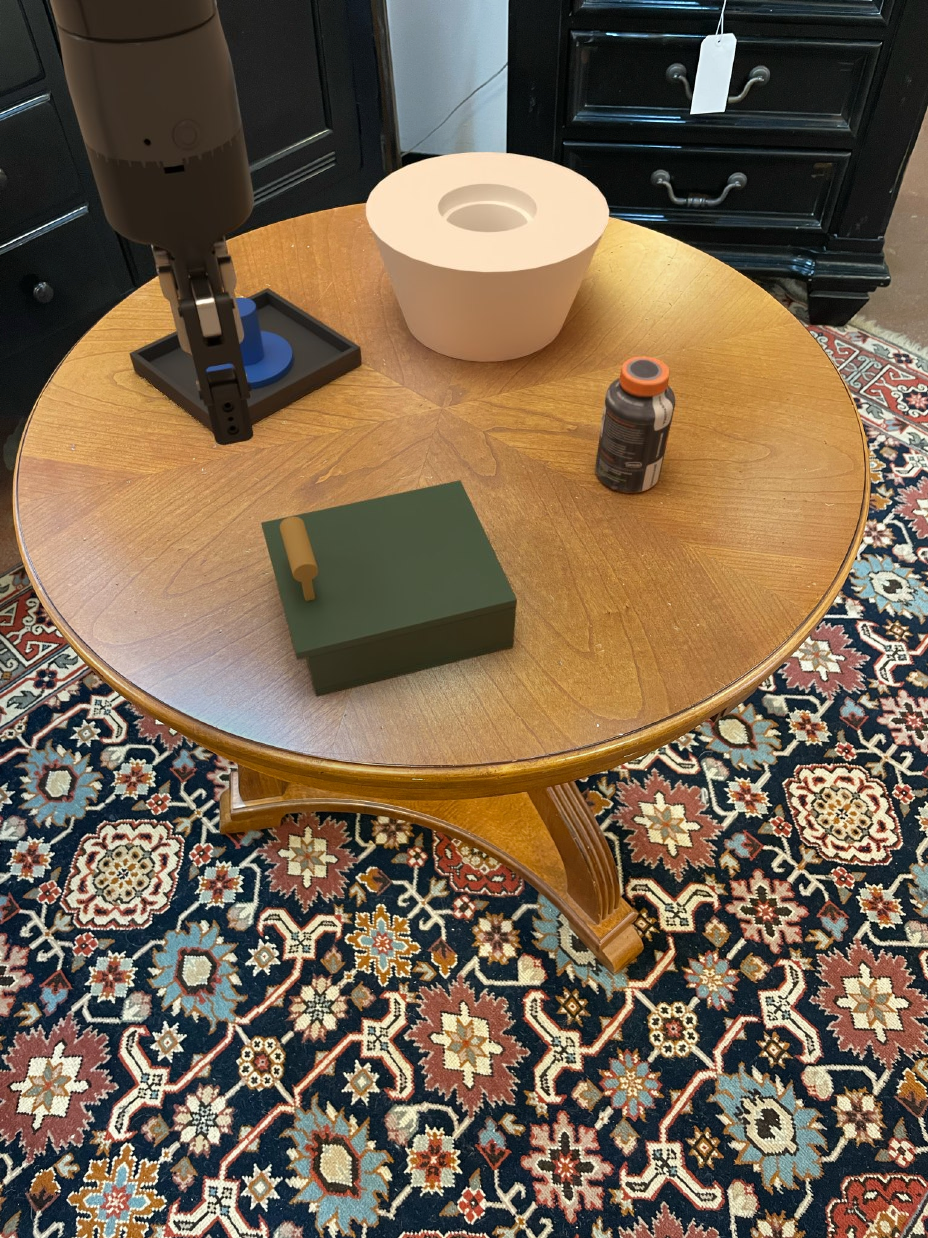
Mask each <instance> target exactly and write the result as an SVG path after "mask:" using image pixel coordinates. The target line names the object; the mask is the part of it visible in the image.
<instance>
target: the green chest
mask: <svg viewBox="0 0 928 1238" xmlns="http://www.w3.org/2000/svg"><path fill="white" fill-rule="evenodd" d="M516 613H517V606H516V607H512V608H508V609H504V610H500V611H496V612H491V613H487V614H483V615H479V616H475V617H471V618H467V619H463V620H459V621H455V622H450V623H446V624H442V625H438V626H434V627H430V628H426V629H422V630H418V631H414V632H409V633H405V634H401V635H397V636H393V637H389V638H385V639H381V640H377V641H373V642H368V643H364V644H360V645H356V646H352V647H348V648H344V649H340V650H336V651H332V652H328V653H323V654H319V655H315V656H311V657H307V658H304V659H305V662H306V666H307V669H308V673H309V677H310V680H311V684H312V688H313V692H314V695H315V697H319V696H323V695H328V694H331V693H336V692H340V691H343V690H348V689H352V688H355V687H359V686H363V685H367V684H371V683H374V682H379V681H383V680H388V679H391V678H394V677H395V678H396V677H399V676H403V675H407V674H410V673H411V674H412V673H415V672H419V671H422V670H427V669H431V668H436V667H439V666H443V665H446V664H451V663H454V662H460V661H463V660H467V659H471V658H474V657H479V656H483V655H486V654H491V653H495V652H499V651H502V650H507V649H510V648H513V647H514V640H515V627H516Z"/></svg>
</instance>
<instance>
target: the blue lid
mask: <svg viewBox="0 0 928 1238" xmlns="http://www.w3.org/2000/svg"><path fill="white" fill-rule="evenodd" d="M236 300H237V305H238V309H239V313H240V318H241V322H242V327H243V331H244V338H243V341H242V342H241V343H240V349H241V353H242V358H243V363H244V368H245V372H246V375H247V379H248V381H247V382H250V385H251V389H254V388H259V387H263V386H267V385H269V384H272V383H274V382H276V381H278V380H279V379H281V378H282V377H284V376H285V375H286V374H287V373H288V372H289V370H290V369H291V367H292V364H293V353H292V348H291V346H290V344H289V343H288V342H287V341H286V340H285V339H284V338H282V337H280V336H279V335H276V334H274V333H270V332H266V331H260V326H259V321H258V315H257V309H256V304H255V303H254V302H253V301H252V300H250V299H248V298H247V297H236ZM227 368H233V366H232V364H223V365H218V366H212V367H209V368H207V370H206V372H210V371H215V370H221V369H227ZM206 374H207V373H206Z"/></svg>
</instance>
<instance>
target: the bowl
mask: <svg viewBox="0 0 928 1238" xmlns="http://www.w3.org/2000/svg"><path fill="white" fill-rule="evenodd" d="M606 199H607V198H606V197H605V196H604V194H603V193H602V192H601V191H600V189H599V188H598V186H596V185H595V184H594V183H592V182H591V181H590V180H588V179H587V177H585V176H583V175H581V174H579V173H578V172H576V171H575V170H572V169H571V168H568V167H565V166H563V165H560V164H558V163H555V162H552V161H548V160H545V159H541V158H537V157H535V156H528V155H522V154H516V153H510V152H509V153H507V152H495V151H494V152H493V151H480V152H479V151H478V152H475V151H473V152H459V153H452V154H450V153H449V154H445V155H444V154H443V155H438V156H434V157H430V158H426V159H422V160H420V161H416V162H413V163H411V164H407V165H405V166H403V167H402V168H399V169H398V170H396V171H394V172H391V173H390V174H388V175H387V176H386V177H385V178H383V179H382V180H380V181H379V182H378V184H377V185H376V186H375V187H374V188H373V189H372V190H371V192H370V193H369V195H368V199H367V201H366V203H365V217H366V219H367V223H368V225H369V227H370V231H371V233H372V236H373V238H374V242H375V244H376V246H377V250H378V252H379V254H380V257H381V259H382V262H383V266H384V268H385V270H386V273H387V275H388V278H389V281H390V284H391V287H392V289H393V292H394V294H395V296H396V300H397V303H398V305H399V308H400V310H401V313H402V315H403V316H402V317H403V318H404V321H405V323H406V326H407V328H408V330H409V332H410V334H412V336H413V337H414V338H415V340H417V341H418V342H419V343H421V344H422V345H423V346H424V347H426V348H428V349H430V350H431V351H433V352H435V353H438V354H441V355H443V356H446V357H449V358H453V359H458V360H463V361H468V362H480V363H491V362H492V363H493V362H504V361H512V360H516V359H520V358H523V357H527V356H529V355H532V354H534V353H536V352H539V351H542V349H544V348H545V347H546V346H548V345H549V344H552V342H553V341H554V340H555V339H556V337H558V335H559V334H560V332H561V331H562V328H563V326H564V324H565V322H566V319H567V316H568V315H569V312H570V310H571V308H572V305H573V304H574V301H575V299H576V296H577V294H578V292H579V290H580V287H581V285H582V283H583V280H584V278H585V276H586V274H587V271H588V269H589V267H590V264H591V263H592V260H593V258H594V256H595V253H596V252H597V249H598V246H599V244H600V242H601V239H602V237H603V235H604V233H605V231H606V228H607V226H608V224H609V219H610V209H609V205H608V203H607V200H606Z"/></svg>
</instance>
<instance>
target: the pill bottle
mask: <svg viewBox="0 0 928 1238" xmlns="http://www.w3.org/2000/svg"><path fill="white" fill-rule="evenodd" d="M670 374H671V372H670V368H669V366H668V365H667V364H666V362H665V363H664V361H662V360H660V359H658V358H656V357H652V356H648V355H647V356H646V355H645V356H644V355H641V356H634V357H631V358H628V359H626V360H625V362H623V363H622V366H621V369H620V374H619V378H617V379H615V380H614V381H613V382H611V383H610V385H609V386H608V387H607V390H606V393H605V397H604V404H603V410H602V415H601V422H600V430H599V437H598V445H597V452H596V458H595V464H594V465H595V466H594V468H595V469H594V470H595V474H596V476H597V478H598V480H599V481H600V482H601V483H602V484H603V485H605V486H606V487H608V488H610V489H611V490H614V491H617V492H621V493H628V494H634V493H641V492H644V491H647V490H649V489H651V488H653V486H655V485H656V484H657V482H659V480H660V477H661V473H662V469H663V463H664V458H665V454H666V450H667V445H668V440H669V436H670V431H671V425H672V422H673V417H674V413H675V407H676V395H675V393H674V391H673V389H672V388H671V386H670V385H669V381H670V376H671V375H670Z"/></svg>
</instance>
